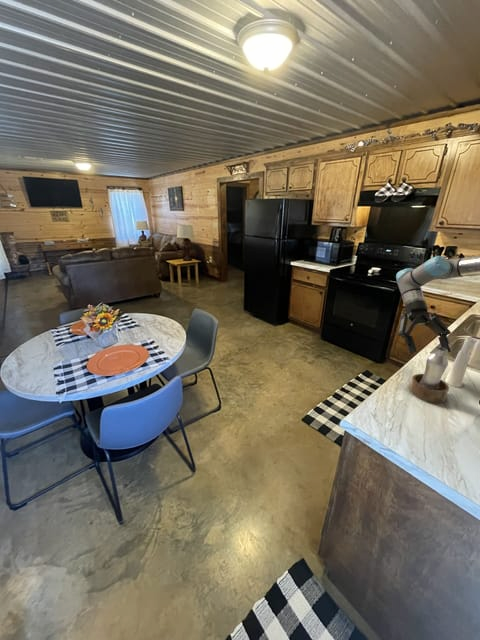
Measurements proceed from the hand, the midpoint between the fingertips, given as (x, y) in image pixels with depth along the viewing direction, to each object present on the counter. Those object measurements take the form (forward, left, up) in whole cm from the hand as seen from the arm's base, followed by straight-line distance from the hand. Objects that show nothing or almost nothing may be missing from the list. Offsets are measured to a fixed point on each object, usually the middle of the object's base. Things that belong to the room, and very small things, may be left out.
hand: (430, 352), depth 101 cm
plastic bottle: (-3, +3, -16) cm, 17 cm away
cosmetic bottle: (-11, -13, -17) cm, 24 cm away
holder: (-3, +3, -17) cm, 18 cm away
